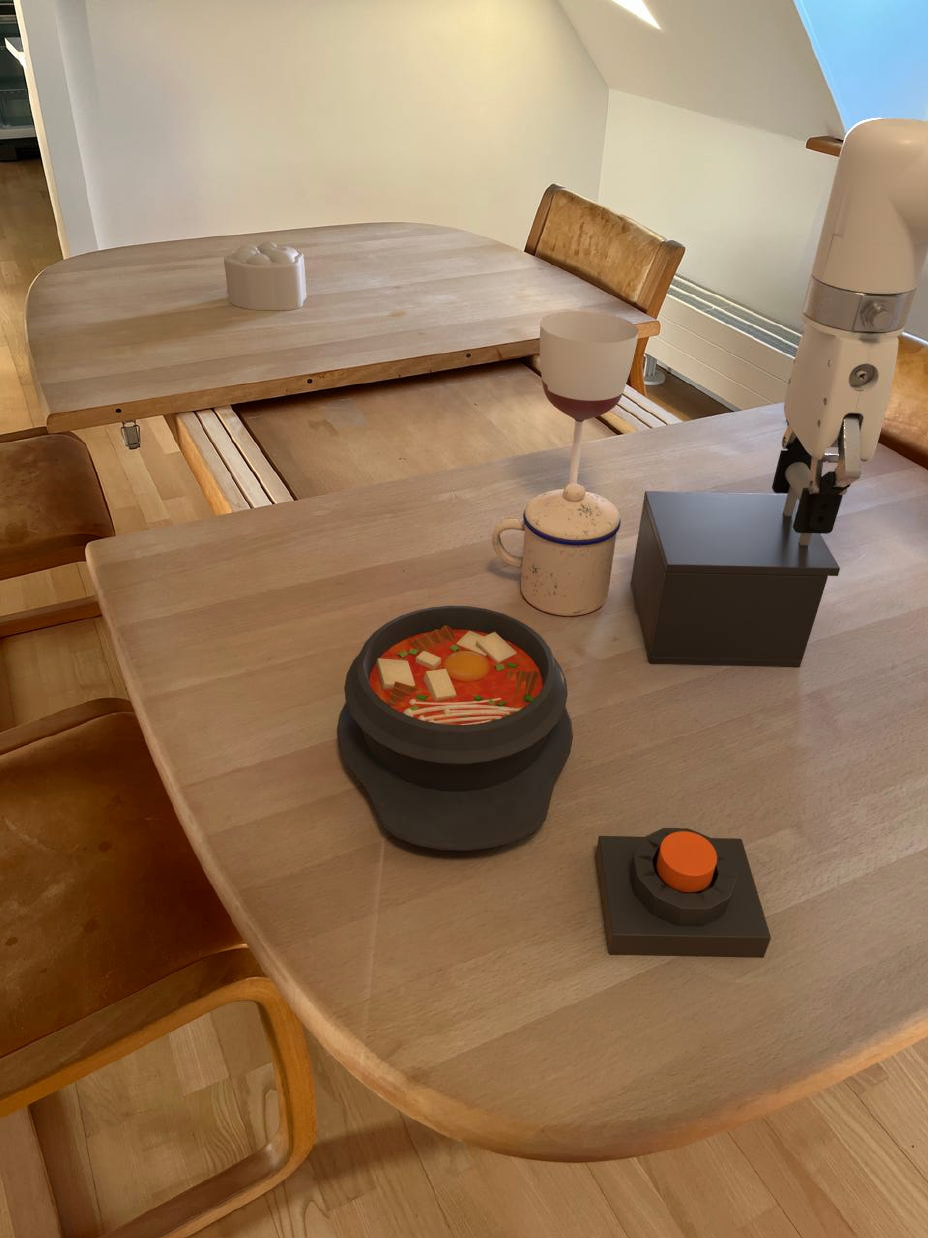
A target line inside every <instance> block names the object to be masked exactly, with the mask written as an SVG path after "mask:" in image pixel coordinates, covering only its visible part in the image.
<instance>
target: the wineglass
mask: <svg viewBox="0 0 928 1238" xmlns="http://www.w3.org/2000/svg"><path fill="white" fill-rule="evenodd" d="M638 338H639V327H638V326H637V325H636V324H634V323H633V322H632V321H630V320H628V319H627V318H623V317H621V316H617V315H615V314H611V313H610V314H608V313H605V312H598V311H587V310H566V311H558V312H554V313H551V314H548V315H545V316H544V317H542V318H541V320H540V322H539V365H540V375H541V383H542V388H543V392H544V395H545V397H546V398H547V400H548V402H549V403H550V404H551V405H552V406H553V407H554V408H555V409H557V410H558V411H560V412H561V413H563V414H564V415H567V416H568V417H570V418H572V419H573V420H574V429H573V440H572V449H571V460H570V469H569V478H568V485H569V484H578V475H579V467H580V466H579V465H580V458H581V457H580V456H581V448H582V438H583V429H584V421H586V420H589V419H594V418H597V417H600V416H603V415H604V414H606V413H608V412H610V411H611V410H613V409H614V408H615V407H616V406H617V405H618V403H619V402H620V401H621V398H622V397H623V394H624V392H625V389H626V385H627V382H628V379H629V377H630V373H631V369H632V366H633V362H634V358H635V353H636V349H637V344H638Z"/></svg>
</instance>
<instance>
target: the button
mask: <svg viewBox="0 0 928 1238" xmlns="http://www.w3.org/2000/svg"><path fill="white" fill-rule="evenodd" d="M716 863H717V854H716V851H715V849H714V847H713V846H712V844H711V843H710V842H709V841H708V840H706V839H705V838H704V837H702V836H700V835H698V834H695V833H692V832H687V831H679V832H674V833H672V834H670V835H668V836H667V837H665V838H664V840H663V841H662V843H661V846H660V851H659V855H658V859H657V871H658V874H659V876H660V877H661V879H662V880H663V881H664V882H665V883H666V884H667V885H668V886H670V887H671V888H673V889H676V890H678V891H681V892H688V893H692V892H698V891H701V890H703V889H705V888H706V887H707V886H708V885H709V884H710V882H711V880H712V877H713V873H714V870H715V866H716Z"/></svg>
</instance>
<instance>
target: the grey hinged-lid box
mask: <svg viewBox="0 0 928 1238" xmlns="http://www.w3.org/2000/svg"><path fill="white" fill-rule="evenodd" d="M632 565H633V566H632V572H631V577H630V578H631V579H630V588H631V592H632V593H631V594H632V596H633V601H634V604H635V608H636V609H635V610H636V614H637V617H638V621H639V622H638V623H639V626H640V629H641V630H640V631H641V635H642V638H643V642H644V647H645V650H646V653H647V658H648V662H649V664H651V665H690V666H691V665H693V666H694V665H697V666H699V665H700V666H739V667H740V666H741V667H742V666H743V667H783V668H784V667H786V668H787V667H789V668H791V667H792V668H800V667H801V666H802V664H803V663H802V662H803V659H804V656H805V653H806V649H807V646H808V642H809V641H810V636H811V634H812V631H813V627H814V624H815V620H816V616H817V614H818V610H819V607H820V604H821V601H822V597H823V594H824V591H825V588H826V584H827V581H828V577H829V576H811V575H767V574H723V573H679V572H666V569H665V566H664V563H663V559H662V556H661V553H660V549H659V546H658V543H657V540H656V536H655V533H654V530H653V526H652V523H651V520H650V516H649V513H648V510H647V507H646V503H645V500H644V499H643V503H642V507H641V515H640V519H639V526H638V533H637V539H636V545H635V553H634V559H633V564H632Z"/></svg>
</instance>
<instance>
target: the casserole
mask: <svg viewBox="0 0 928 1238" xmlns="http://www.w3.org/2000/svg"><path fill="white" fill-rule="evenodd" d="M345 676H346V677H345V681H344V686H343V688H344V697H345V702H344V705H343V706H342V709H341V711H340V713H339V717H338V721H337V726H336V727H337V728H336V734H337V744H338V745H337V746H338V748H339V751H340V753H341V756H342V759H343V760H344V761H343V762H344V763H345V765H346V766H347V767H348V768H349V770H350V771H351V773H352V774H353V775H354V777H356V779H357V780H358V781H359V783H360V784H361V785H362V787H363V788H364V789H365V791H366V792H367V794H368V797H369V799H370V801H371V803H372V805H373V807H374V809H375V812H376V814H377V816H378V819H379V820H380V823H381V825H382V827H383V828H384V829H386V830H387V831H388V832H389V833H390V834H392V835H393V836H394V837H395V838H397V839H399V840H401V841H404V842H407V843H409V844H412V845H415V846H419V847H424V848H429V849H435V850H439V851H464V852H465V851H466V852H470V851H476V850H478V851H479V850H485V849H492V848H497V847H500V846H503V845H504V846H505V845H507V844H511V843H514V842H518V841H519V840H521V839H524V838H525V837H527V836H529V835H531V834H534V833H535V832H536V831H537V830H538V829H539V828H540V827H541V825H542V824H543V823H544V822H545V821H546V820H547V817H548V813H549V809H550V804H551V799H552V795H553V792H554V786H555V784H556V782H557V779H558V778H559V776H560V774H561V772H562V770H563V769H564V766H565V764H566V763H567V760H568V759H569V756H570V754H571V751H572V747H573V746H572V745H573V739H574V733H573V732H574V731H573V723H572V718H571V717H570V714H569V711H568V708H567V706H566V704H567V700H568V694H569V693H568V685H567V678H566V676H565V673H564V671H563V669H562V666H561V665H560V663H559V662H558V661H557V660H556V658H555V657H554V655H553V652H552V649H551V648H550V646H549V645H548V644H547V642H546V641H545V640H544V638H543V637H542V636H541V635H540V634H538V632H537V631H535V629H533V628H532V627H530V626H529V625H527V624H525V623H524V622H522V621H521V620H519V619H516V618H514V617H512V616H510V615H507V614H505V613H502V612H499V611H496V610H492V609H488V608H483V607H476V606H470V605H469V606H468V605H443V606H441V605H440V606H432V607H427V608H421V609H417V610H414V611H410V612H408V613H405V614H402V615H399V616H397V617H395V618H393V619H392V620H389V621H388V622H385V624H383V625H381V626H380V627H379V628H378V629H377V630H375V631H374V632H372V634H371V635H370V636H369V638H367V640H366V641H365V642H364V643H363V646H362V648H361V650H360V652H359V653H358V654H357V656H355V657H354V659H353V660H352V663H350V666H349V668H348V670H347V673H346V675H345Z"/></svg>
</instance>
